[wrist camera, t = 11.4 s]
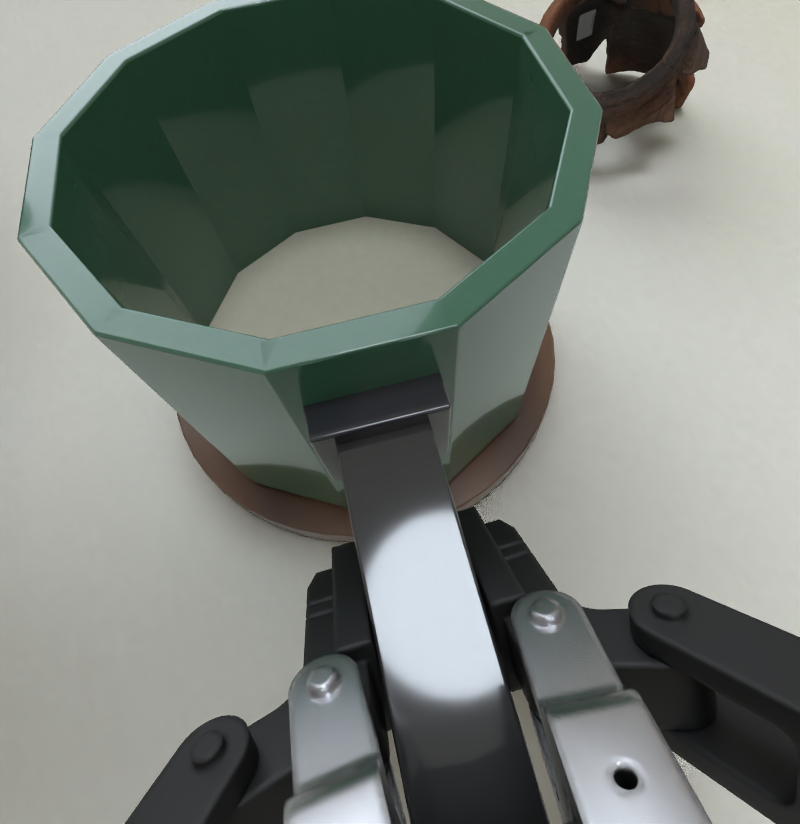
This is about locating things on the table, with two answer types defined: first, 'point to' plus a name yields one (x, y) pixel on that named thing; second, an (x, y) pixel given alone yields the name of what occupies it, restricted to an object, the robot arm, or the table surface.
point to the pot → (341, 295)
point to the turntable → (335, 520)
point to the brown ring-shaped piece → (635, 54)
